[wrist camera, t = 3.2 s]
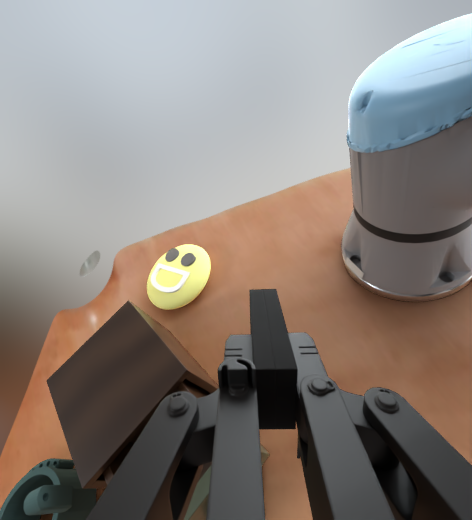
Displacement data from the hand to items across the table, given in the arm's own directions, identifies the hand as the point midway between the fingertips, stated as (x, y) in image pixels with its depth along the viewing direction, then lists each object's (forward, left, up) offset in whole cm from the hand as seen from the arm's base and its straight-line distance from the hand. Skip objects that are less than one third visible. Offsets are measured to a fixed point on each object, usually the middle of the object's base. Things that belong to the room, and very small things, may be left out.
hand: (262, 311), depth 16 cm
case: (+18, +9, -20) cm, 28 cm away
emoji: (+26, -7, -20) cm, 33 cm away
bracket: (+21, +24, -20) cm, 37 cm away
